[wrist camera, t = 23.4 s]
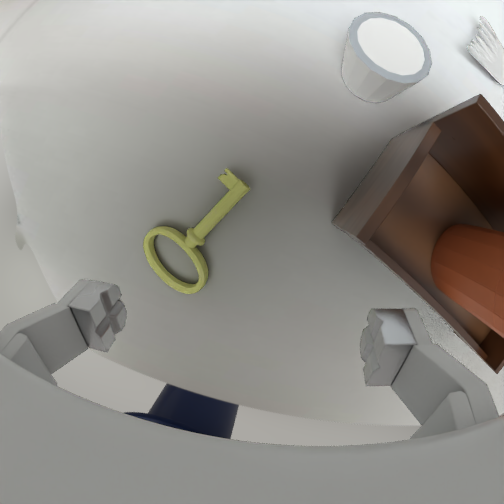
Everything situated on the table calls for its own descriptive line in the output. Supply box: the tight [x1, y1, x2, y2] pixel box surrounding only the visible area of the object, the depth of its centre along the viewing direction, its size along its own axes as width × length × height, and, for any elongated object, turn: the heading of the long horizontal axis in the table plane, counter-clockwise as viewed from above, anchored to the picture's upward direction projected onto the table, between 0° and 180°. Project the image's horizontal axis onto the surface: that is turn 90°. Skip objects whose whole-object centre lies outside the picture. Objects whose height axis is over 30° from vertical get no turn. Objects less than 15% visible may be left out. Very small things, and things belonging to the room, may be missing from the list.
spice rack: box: [332, 94, 504, 374], centre depth 16 cm, size 10×20×14 cm, turn 54°
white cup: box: [342, 12, 432, 103], centre depth 18 cm, size 7×7×7 cm
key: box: [143, 168, 250, 294], centre depth 25 cm, size 7×12×2 cm, turn 153°
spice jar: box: [431, 224, 504, 338], centre depth 14 cm, size 6×6×10 cm
